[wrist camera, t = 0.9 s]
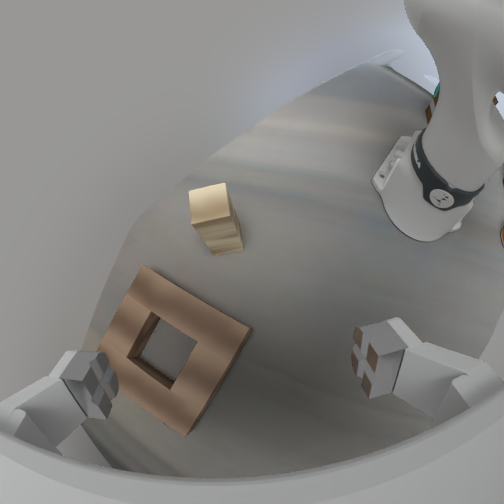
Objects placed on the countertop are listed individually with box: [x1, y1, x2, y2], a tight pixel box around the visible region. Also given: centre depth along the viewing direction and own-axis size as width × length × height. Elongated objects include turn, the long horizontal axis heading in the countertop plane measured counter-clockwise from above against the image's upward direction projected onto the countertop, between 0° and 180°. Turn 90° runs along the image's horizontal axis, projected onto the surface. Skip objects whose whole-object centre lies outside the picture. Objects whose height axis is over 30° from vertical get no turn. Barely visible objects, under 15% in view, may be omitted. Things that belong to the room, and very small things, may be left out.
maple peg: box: [189, 183, 244, 256], centre depth 37 cm, size 4×4×12 cm
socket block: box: [97, 265, 253, 436], centre depth 36 cm, size 18×18×4 cm
